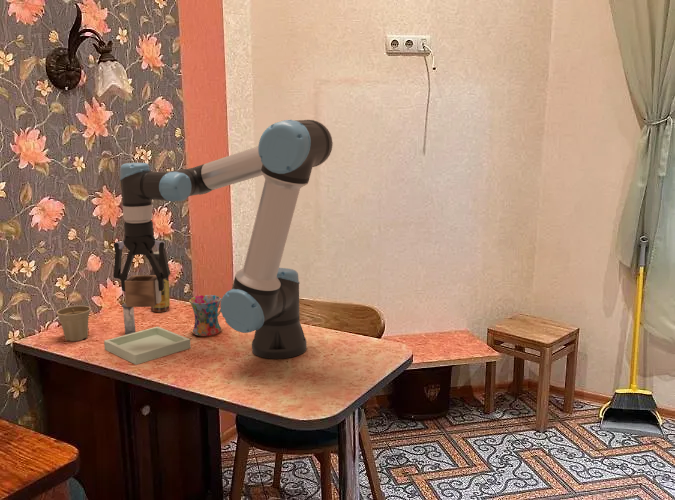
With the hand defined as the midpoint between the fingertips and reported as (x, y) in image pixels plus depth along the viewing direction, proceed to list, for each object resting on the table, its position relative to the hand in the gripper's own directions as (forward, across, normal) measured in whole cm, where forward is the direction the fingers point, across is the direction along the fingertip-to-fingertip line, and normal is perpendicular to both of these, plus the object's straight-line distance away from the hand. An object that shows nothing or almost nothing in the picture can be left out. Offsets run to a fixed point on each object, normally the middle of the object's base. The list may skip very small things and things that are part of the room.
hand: (144, 302), depth 184 cm
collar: (0, 0, 0) cm, 0 cm away
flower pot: (+14, +24, -10) cm, 29 cm away
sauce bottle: (+14, +5, -37) cm, 40 cm away
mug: (+14, -15, -14) cm, 25 cm away
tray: (+14, 0, 0) cm, 14 cm away
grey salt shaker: (+14, +9, -14) cm, 21 cm away
